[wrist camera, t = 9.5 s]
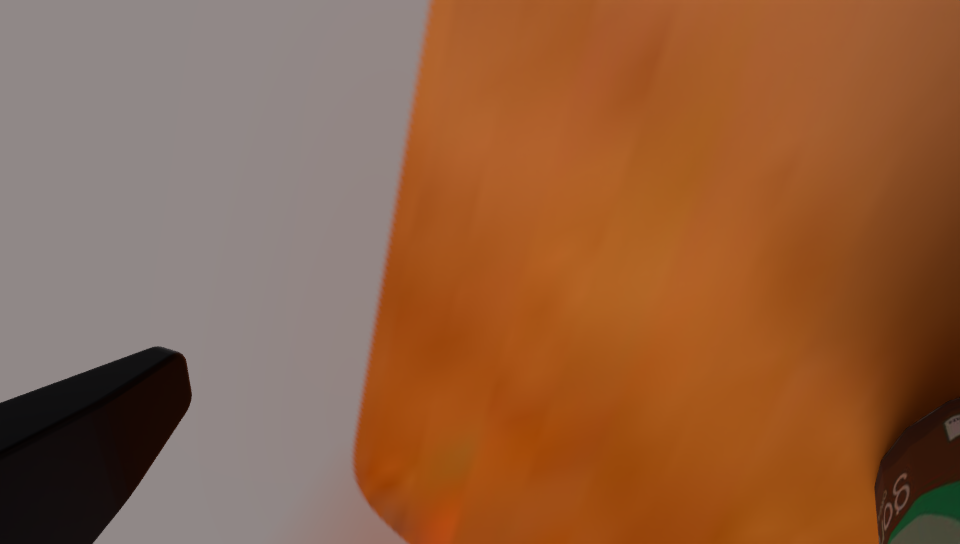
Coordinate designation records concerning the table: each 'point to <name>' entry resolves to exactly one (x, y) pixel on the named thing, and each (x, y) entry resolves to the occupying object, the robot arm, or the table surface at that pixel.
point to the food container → (922, 482)
